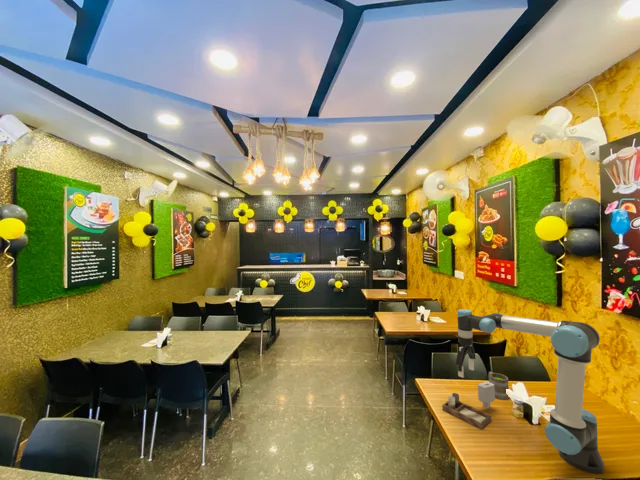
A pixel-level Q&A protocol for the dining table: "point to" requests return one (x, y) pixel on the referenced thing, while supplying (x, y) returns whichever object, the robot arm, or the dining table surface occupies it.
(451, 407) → the caddy
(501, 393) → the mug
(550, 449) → the dining table surface
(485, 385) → the charger
